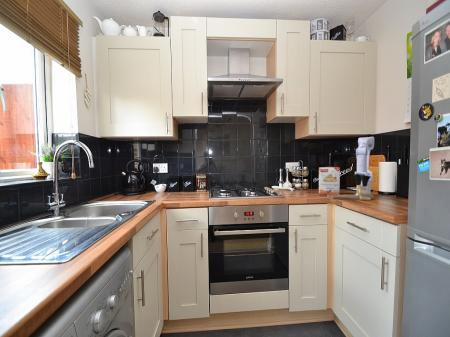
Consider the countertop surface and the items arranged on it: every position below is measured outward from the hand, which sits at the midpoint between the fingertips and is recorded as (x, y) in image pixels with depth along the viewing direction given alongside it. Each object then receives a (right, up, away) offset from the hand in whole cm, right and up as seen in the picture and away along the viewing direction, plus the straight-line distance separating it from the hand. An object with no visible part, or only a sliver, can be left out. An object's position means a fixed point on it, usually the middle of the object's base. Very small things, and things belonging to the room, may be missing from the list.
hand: (361, 185), depth 146 cm
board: (-7, -9, +4) cm, 12 cm away
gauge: (0, -9, 0) cm, 9 cm away
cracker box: (-11, -8, +23) cm, 27 cm away
